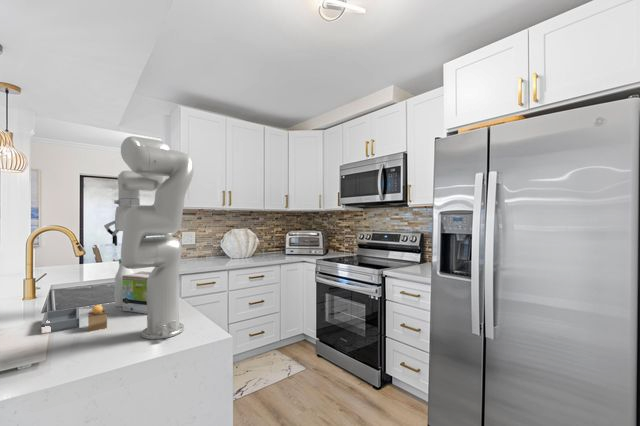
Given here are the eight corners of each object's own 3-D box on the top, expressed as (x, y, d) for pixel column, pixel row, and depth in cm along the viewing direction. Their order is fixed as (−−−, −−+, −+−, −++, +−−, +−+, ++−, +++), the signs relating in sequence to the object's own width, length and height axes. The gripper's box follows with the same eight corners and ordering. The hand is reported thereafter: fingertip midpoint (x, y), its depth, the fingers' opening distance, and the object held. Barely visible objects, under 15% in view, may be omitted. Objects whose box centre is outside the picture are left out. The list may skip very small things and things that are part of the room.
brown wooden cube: (106, 328, 108) (106, 313, 108) (88, 332, 105) (88, 316, 105) (105, 324, 112) (105, 309, 112) (88, 327, 109) (88, 312, 109)
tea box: (121, 311, 127) (121, 275, 127) (142, 304, 137) (141, 270, 137) (151, 315, 123) (151, 277, 123) (170, 307, 132) (170, 272, 132)
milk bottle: (125, 307, 132) (125, 260, 133) (110, 306, 134) (109, 259, 134) (139, 302, 140) (139, 257, 140) (124, 301, 142) (124, 257, 142)
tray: (79, 327, 109) (79, 318, 109) (41, 334, 103) (40, 324, 103) (79, 315, 123) (79, 307, 123) (45, 320, 117) (45, 312, 117)
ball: (103, 313, 109) (102, 305, 109) (92, 315, 107) (91, 306, 107) (102, 311, 111) (102, 303, 111) (92, 313, 109) (91, 305, 109)
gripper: (104, 202, 122) (104, 246, 122) (154, 203, 133) (154, 243, 133) (103, 203, 128) (103, 245, 128) (151, 203, 139) (151, 242, 139)
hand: (129, 244), depth 130 cm, fingers open, 9 cm apart
